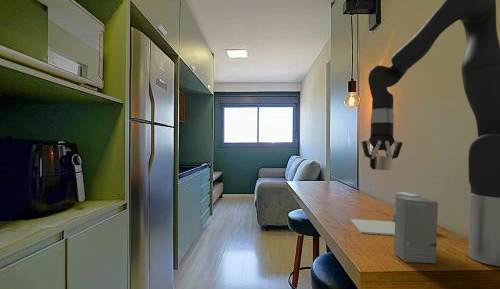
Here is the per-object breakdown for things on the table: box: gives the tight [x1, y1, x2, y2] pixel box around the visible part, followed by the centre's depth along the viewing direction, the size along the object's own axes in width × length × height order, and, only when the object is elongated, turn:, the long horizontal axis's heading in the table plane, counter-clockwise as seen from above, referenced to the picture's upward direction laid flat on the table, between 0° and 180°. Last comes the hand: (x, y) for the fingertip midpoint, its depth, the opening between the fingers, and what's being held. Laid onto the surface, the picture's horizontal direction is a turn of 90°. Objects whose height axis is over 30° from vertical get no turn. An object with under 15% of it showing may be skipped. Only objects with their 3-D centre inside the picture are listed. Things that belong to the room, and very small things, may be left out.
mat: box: [349, 218, 395, 237], centre depth 109 cm, size 16×18×1 cm
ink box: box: [393, 191, 422, 223], centre depth 116 cm, size 8×5×12 cm, turn 17°
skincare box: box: [393, 197, 439, 264], centre depth 79 cm, size 8×7×16 cm
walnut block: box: [375, 155, 393, 171], centre depth 109 cm, size 4×4×11 cm
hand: (380, 169), depth 108 cm, fingers closed on walnut block, 4 cm apart
